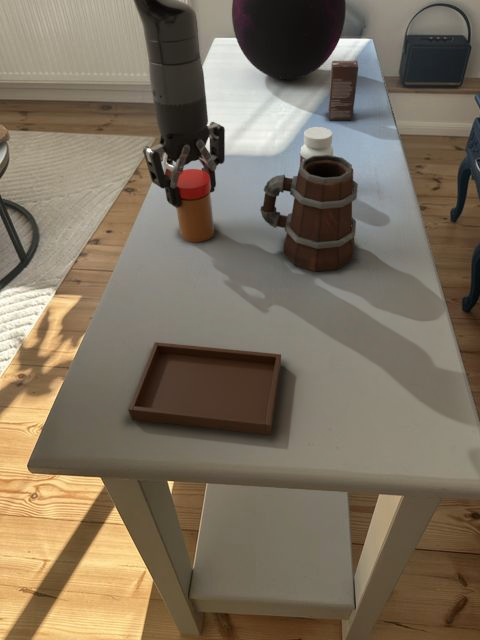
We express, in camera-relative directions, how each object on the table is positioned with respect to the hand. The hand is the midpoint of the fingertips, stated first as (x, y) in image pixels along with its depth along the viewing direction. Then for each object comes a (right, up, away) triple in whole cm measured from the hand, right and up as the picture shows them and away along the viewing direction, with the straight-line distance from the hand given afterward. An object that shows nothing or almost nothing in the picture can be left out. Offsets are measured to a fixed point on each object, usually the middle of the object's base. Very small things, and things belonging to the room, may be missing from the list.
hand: (192, 197), depth 81 cm
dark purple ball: (+19, +53, +58) cm, 81 cm away
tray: (+5, -31, -19) cm, 37 cm away
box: (+31, +32, +38) cm, 59 cm away
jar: (0, -5, +5) cm, 7 cm away
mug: (+19, -9, +1) cm, 21 cm away
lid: (0, +2, -2) cm, 3 cm away
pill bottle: (+22, +6, +15) cm, 27 cm away
